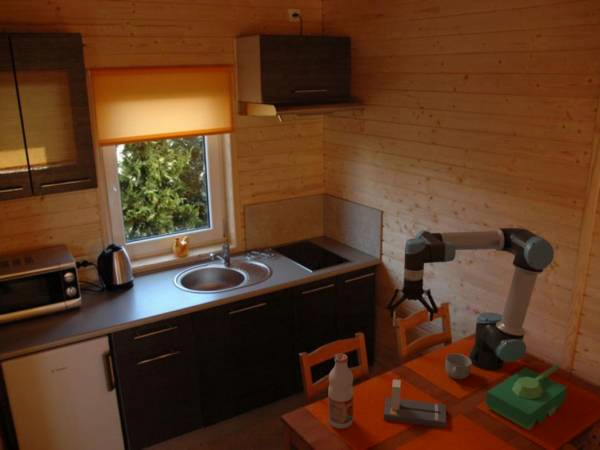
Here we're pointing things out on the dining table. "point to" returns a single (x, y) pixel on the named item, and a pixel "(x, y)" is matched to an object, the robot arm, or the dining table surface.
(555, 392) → the toy tank
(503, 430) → the dining table surface
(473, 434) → the dining table surface
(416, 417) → the panel
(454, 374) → the teacup
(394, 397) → the block
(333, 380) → the fruit juice
